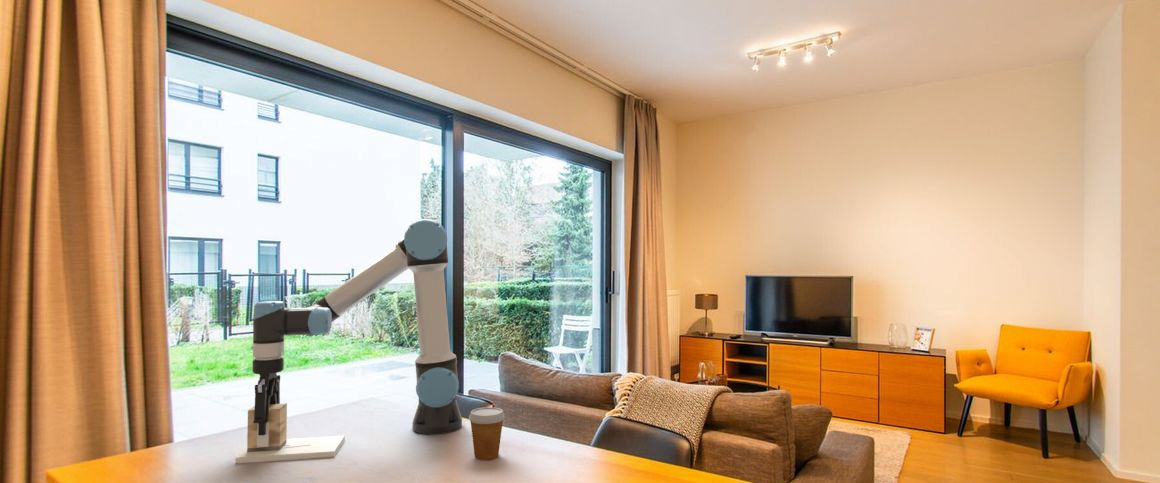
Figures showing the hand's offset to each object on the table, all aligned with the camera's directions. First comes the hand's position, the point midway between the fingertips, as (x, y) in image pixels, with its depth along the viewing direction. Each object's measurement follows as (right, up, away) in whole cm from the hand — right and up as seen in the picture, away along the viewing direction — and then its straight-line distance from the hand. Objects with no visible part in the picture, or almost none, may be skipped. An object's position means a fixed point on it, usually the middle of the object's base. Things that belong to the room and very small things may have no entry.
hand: (267, 442), depth 156 cm
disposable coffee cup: (+60, -3, -3) cm, 61 cm away
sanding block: (0, -1, 0) cm, 1 cm away
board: (+7, -3, +1) cm, 7 cm away
